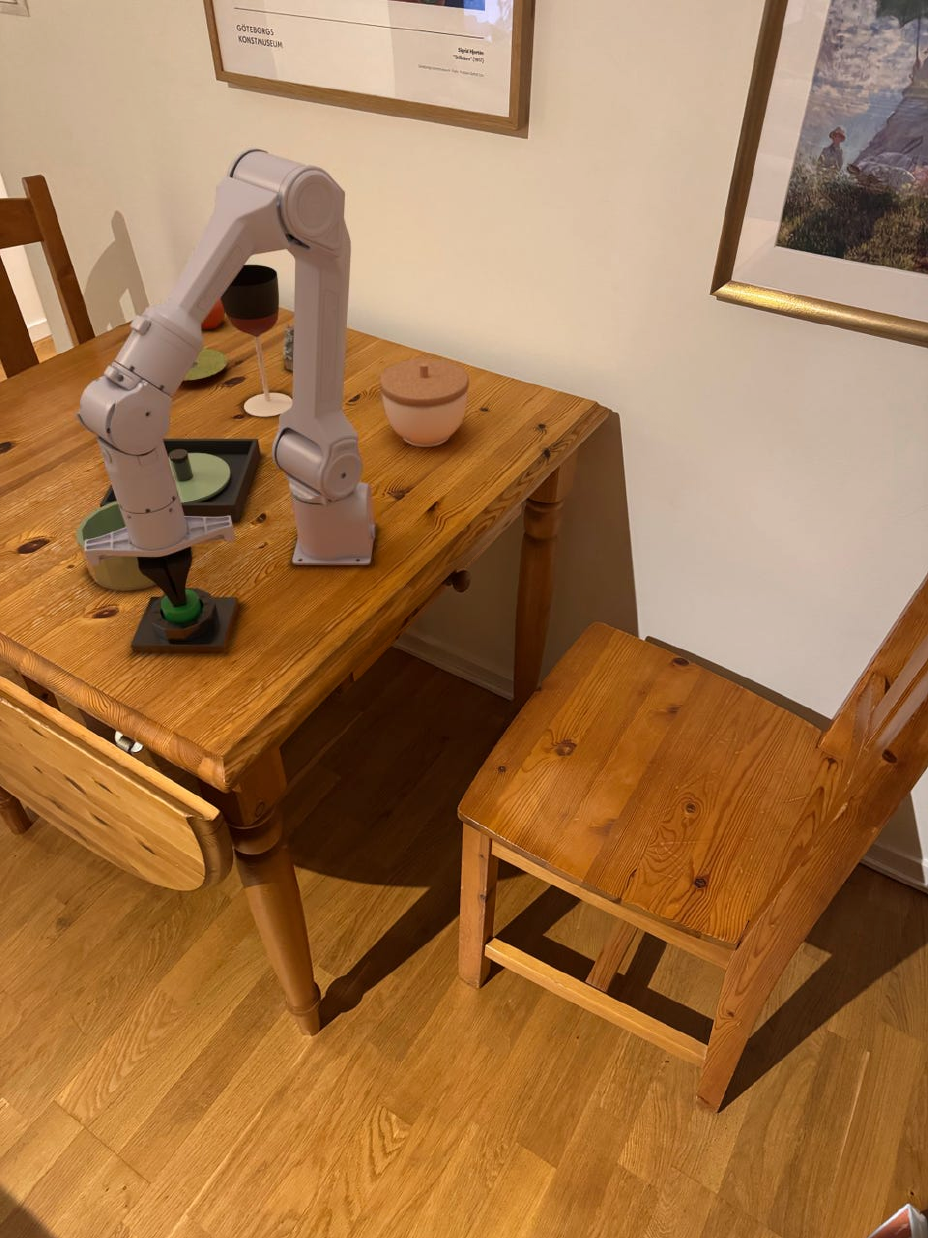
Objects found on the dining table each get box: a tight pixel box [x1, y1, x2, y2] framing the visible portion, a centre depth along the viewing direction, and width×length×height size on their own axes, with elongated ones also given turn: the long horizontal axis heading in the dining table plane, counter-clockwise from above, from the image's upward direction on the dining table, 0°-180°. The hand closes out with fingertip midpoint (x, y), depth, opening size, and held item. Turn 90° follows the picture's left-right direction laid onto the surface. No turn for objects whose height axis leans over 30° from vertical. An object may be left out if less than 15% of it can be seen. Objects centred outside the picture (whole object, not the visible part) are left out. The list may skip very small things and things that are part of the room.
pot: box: [75, 501, 157, 592], centre depth 104 cm, size 11×11×5 cm
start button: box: [161, 589, 202, 622], centre depth 94 cm, size 4×4×2 cm
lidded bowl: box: [378, 357, 470, 448], centre depth 123 cm, size 13×13×11 cm
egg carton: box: [282, 323, 294, 372], centre depth 144 cm, size 11×8×4 cm
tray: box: [99, 438, 262, 523], centre depth 116 cm, size 17×16×3 cm
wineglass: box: [220, 264, 293, 417], centre depth 127 cm, size 8×9×20 cm
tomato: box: [201, 299, 226, 330], centre depth 153 cm, size 7×7×8 cm
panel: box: [130, 587, 240, 654], centre depth 96 cm, size 10×8×3 cm
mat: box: [183, 348, 228, 382], centre depth 141 cm, size 11×11×2 cm
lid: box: [168, 449, 231, 502], centre depth 115 cm, size 12×12×5 cm
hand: (179, 600), depth 94 cm, fingers closed, pressing on start button
